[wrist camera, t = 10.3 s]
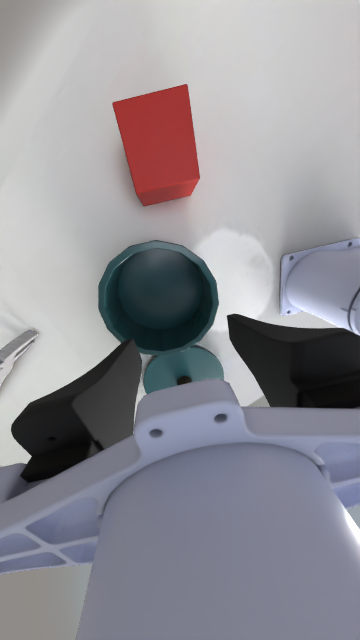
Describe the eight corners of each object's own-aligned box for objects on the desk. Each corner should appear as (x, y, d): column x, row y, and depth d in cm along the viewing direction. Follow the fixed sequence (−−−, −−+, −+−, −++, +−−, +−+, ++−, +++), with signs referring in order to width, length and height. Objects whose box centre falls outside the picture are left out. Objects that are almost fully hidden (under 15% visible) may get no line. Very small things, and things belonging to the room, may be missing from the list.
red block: (180, 129, 16) (187, 82, 11) (191, 195, 18) (200, 178, 13) (127, 143, 16) (111, 101, 11) (143, 206, 18) (136, 194, 13)
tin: (197, 231, 19) (209, 227, 14) (211, 321, 24) (224, 342, 19) (99, 254, 19) (76, 259, 14) (131, 339, 24) (123, 365, 19)
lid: (216, 335, 25) (226, 352, 21) (225, 395, 30) (234, 418, 26) (133, 354, 25) (127, 374, 21) (156, 411, 30) (155, 436, 26)
